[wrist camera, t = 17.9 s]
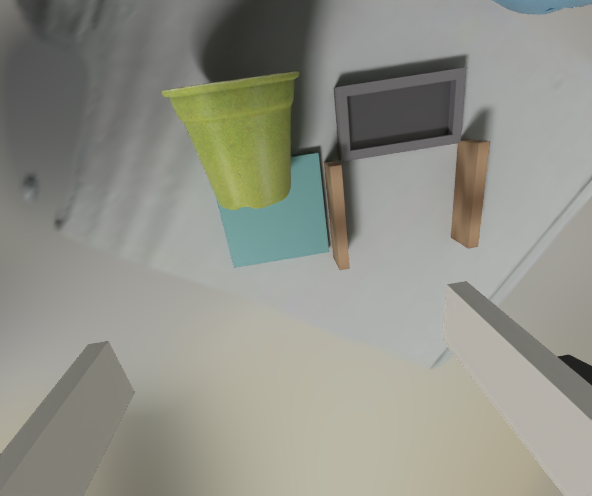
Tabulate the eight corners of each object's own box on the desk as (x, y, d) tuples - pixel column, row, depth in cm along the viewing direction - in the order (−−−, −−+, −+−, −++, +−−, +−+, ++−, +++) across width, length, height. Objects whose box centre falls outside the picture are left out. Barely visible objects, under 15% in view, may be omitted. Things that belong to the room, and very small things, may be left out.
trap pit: (333, 88, 26) (336, 87, 24) (458, 69, 26) (466, 67, 25) (339, 159, 28) (342, 161, 27) (453, 141, 28) (460, 142, 27)
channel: (323, 162, 28) (329, 166, 25) (468, 139, 28) (489, 141, 25) (333, 257, 32) (339, 270, 29) (459, 236, 32) (477, 246, 29)
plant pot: (268, 173, 31) (250, 77, 26) (335, 189, 24) (326, 64, 20) (182, 204, 26) (143, 93, 22) (236, 234, 19) (196, 84, 15)
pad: (210, 169, 27) (209, 170, 27) (317, 152, 27) (318, 152, 27) (234, 265, 31) (234, 267, 31) (327, 249, 31) (328, 251, 31)
